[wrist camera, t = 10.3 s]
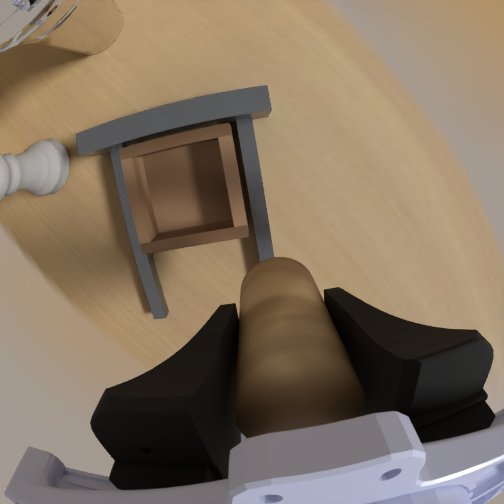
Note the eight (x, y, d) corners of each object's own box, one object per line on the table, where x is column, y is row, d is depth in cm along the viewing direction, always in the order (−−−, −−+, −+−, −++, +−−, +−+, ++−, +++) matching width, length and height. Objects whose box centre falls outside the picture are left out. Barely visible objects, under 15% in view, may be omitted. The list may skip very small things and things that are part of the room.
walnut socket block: (248, 226, 21) (248, 236, 19) (153, 242, 22) (142, 254, 19) (231, 126, 19) (228, 122, 17) (133, 148, 19) (118, 149, 17)
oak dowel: (318, 317, 15) (360, 436, 8) (248, 329, 15) (248, 456, 8) (310, 250, 14) (367, 353, 7) (233, 264, 14) (220, 379, 7)
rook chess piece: (47, 204, 21) (-18, 231, 13) (25, 162, 19) (-43, 175, 12) (82, 171, 20) (14, 186, 12) (57, 127, 19) (-13, 127, 11)
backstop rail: (293, 293, 23) (300, 317, 20) (145, 314, 24) (132, 338, 20) (264, 95, 18) (267, 85, 15) (99, 135, 19) (75, 134, 16)
